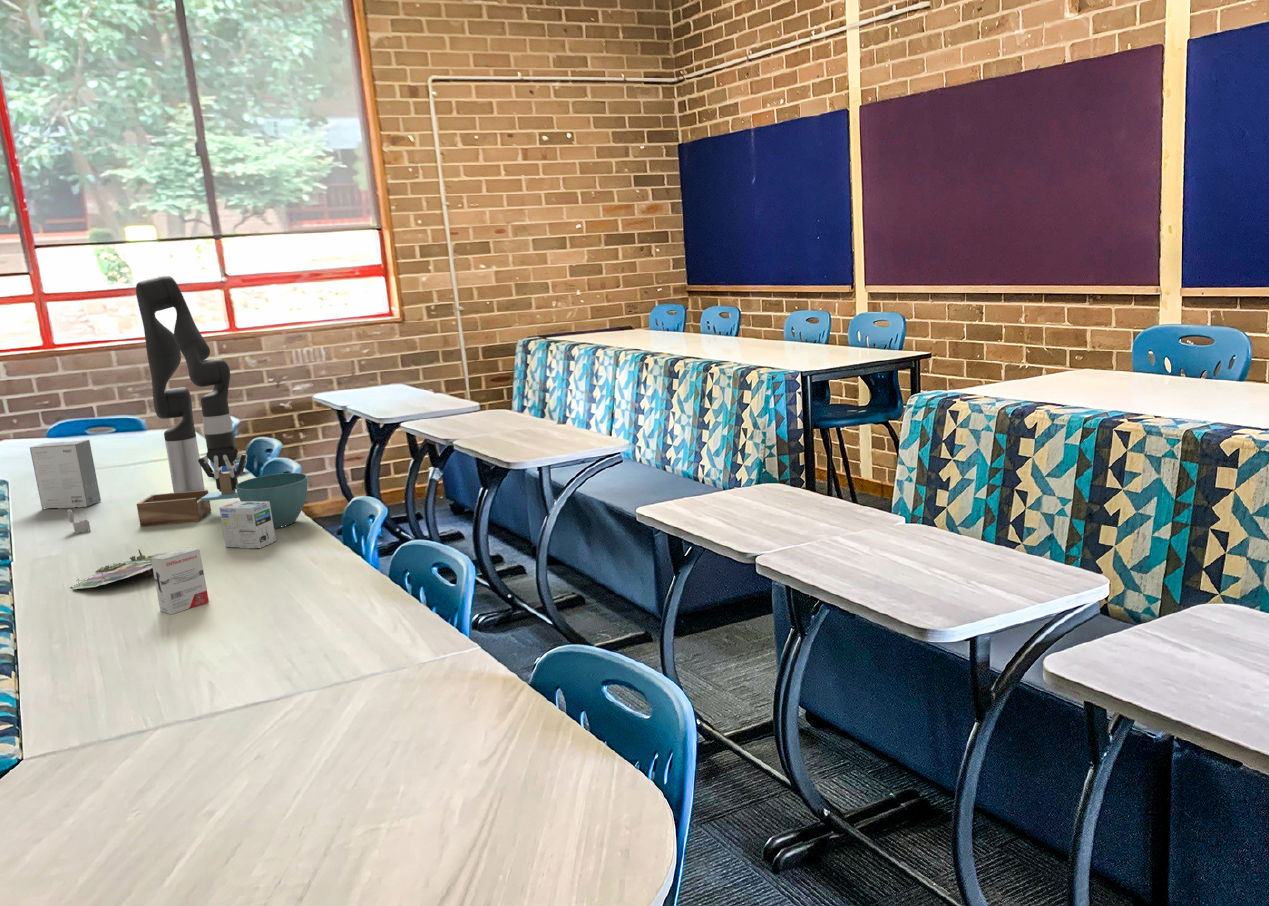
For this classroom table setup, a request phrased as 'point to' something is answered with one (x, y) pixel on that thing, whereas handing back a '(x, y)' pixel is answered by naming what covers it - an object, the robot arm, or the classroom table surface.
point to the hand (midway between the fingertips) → (228, 490)
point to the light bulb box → (247, 524)
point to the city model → (119, 571)
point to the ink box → (179, 580)
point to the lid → (222, 489)
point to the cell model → (224, 468)
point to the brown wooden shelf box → (173, 508)
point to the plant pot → (277, 495)
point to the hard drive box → (65, 474)
